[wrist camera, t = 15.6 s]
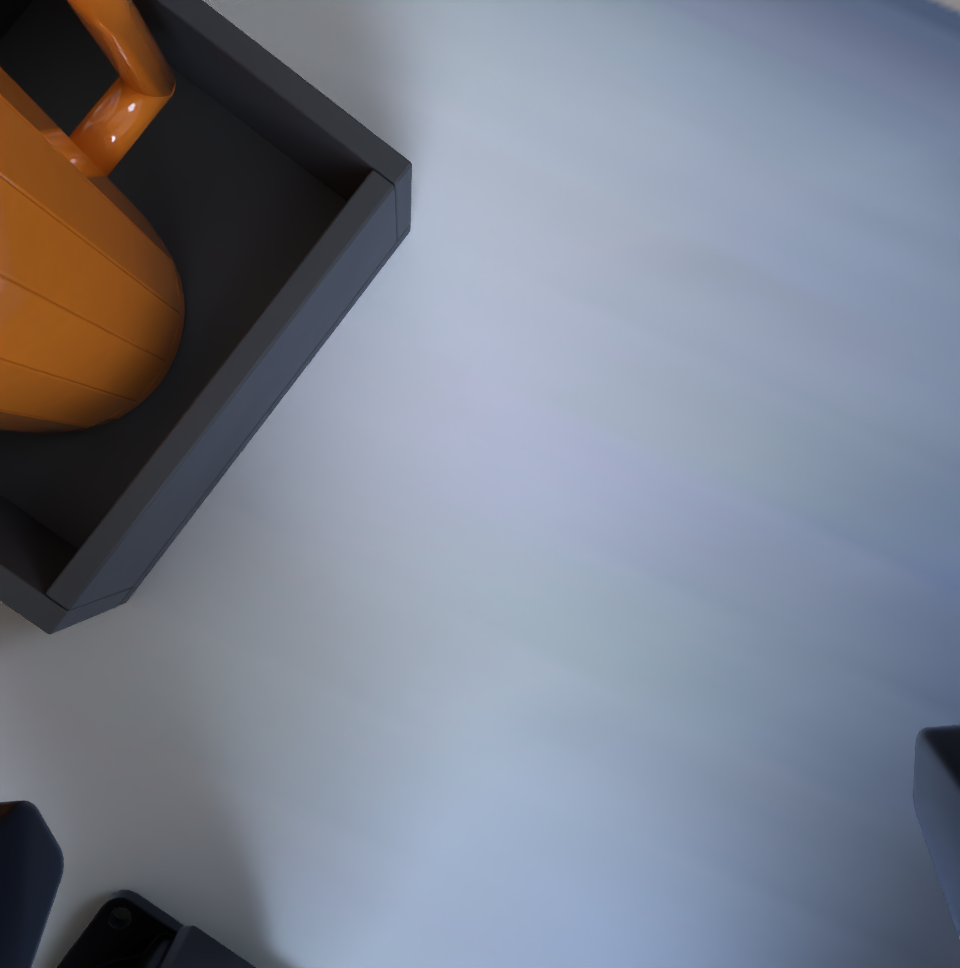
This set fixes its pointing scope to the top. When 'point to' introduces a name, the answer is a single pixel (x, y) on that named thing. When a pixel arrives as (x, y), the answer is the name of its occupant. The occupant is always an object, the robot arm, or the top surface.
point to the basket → (192, 289)
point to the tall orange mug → (83, 246)
